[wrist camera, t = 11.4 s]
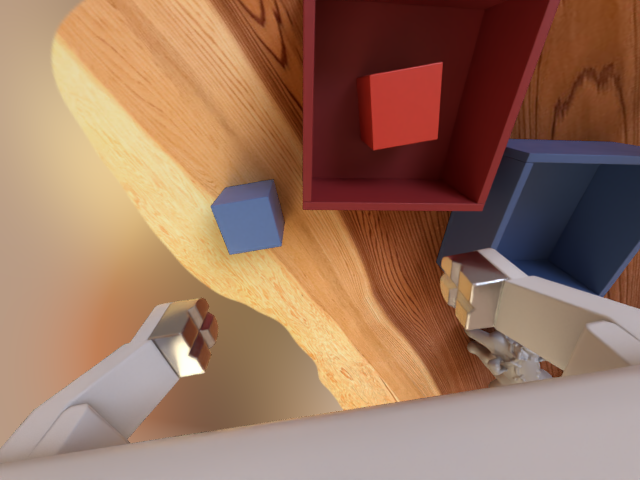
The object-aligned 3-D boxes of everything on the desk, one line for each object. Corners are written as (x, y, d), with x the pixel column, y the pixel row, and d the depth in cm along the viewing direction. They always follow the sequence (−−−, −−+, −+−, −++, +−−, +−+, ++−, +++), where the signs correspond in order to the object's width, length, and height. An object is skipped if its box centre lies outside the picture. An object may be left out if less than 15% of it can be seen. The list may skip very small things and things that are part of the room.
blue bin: (474, 137, 23) (530, 153, 17) (612, 141, 24) (708, 157, 18) (435, 262, 29) (467, 302, 24) (545, 261, 30) (601, 300, 25)
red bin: (302, -12, 17) (303, -61, 12) (491, 1, 18) (575, -39, 13) (302, 182, 24) (302, 210, 18) (441, 184, 25) (482, 211, 19)
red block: (356, 77, 20) (369, 74, 16) (415, 67, 20) (443, 61, 16) (360, 140, 22) (373, 150, 18) (413, 130, 22) (438, 139, 18)
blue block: (225, 187, 24) (210, 206, 20) (273, 178, 24) (268, 196, 20) (240, 230, 26) (229, 254, 22) (284, 222, 26) (281, 246, 22)
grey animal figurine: (512, 293, 33) (566, 345, 26) (539, 341, 38) (589, 395, 31) (445, 329, 35) (478, 384, 28) (478, 369, 40) (513, 424, 34)
